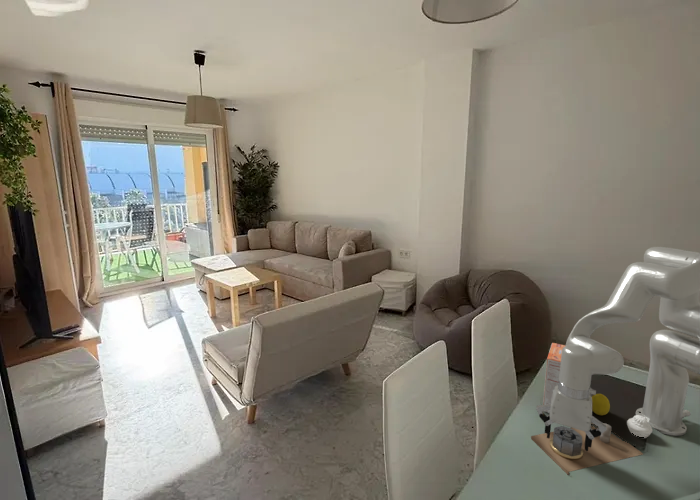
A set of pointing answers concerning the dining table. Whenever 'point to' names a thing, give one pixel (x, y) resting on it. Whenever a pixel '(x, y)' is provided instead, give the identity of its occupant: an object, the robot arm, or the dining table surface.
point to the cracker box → (552, 372)
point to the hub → (567, 435)
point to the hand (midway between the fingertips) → (566, 441)
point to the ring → (567, 442)
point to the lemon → (600, 404)
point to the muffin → (639, 426)
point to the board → (590, 450)
